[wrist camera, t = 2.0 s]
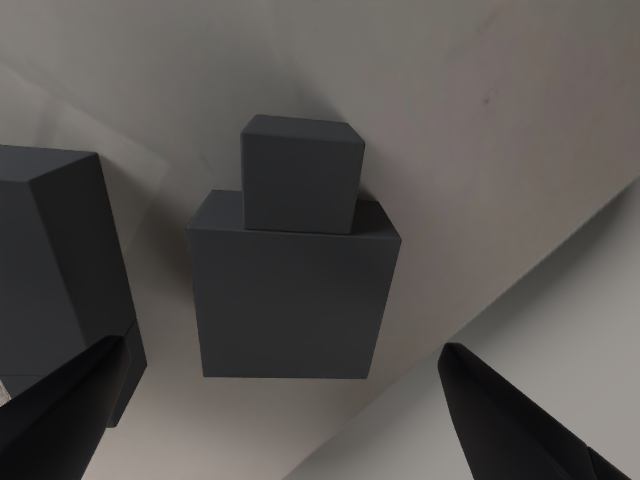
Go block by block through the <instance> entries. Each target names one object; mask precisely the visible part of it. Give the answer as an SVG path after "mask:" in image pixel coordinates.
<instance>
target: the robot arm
mask: <svg viewBox="0 0 640 480" xmlns="http://www.w3.org/2000/svg"><path fill="white" fill-rule="evenodd" d="M130 364H131V354H130V350H129V346H128V343H127V339H126V337H125V336H123V335H107V336H105V337H104V338H102V339H101V340H99V341H98V342H96V343H95V344H93V345H92V346H90V347H89V348H87V349H86V350H84V351H83V352H81V353H80V354H78V355H77V356H75V357H74V358H72V359H71V360H69V361H68V362H66V363H65V364H63V365H62V366H60V367H59V368H58V369H56V370H55V371H53V372H52V373H50V374H49V375H47V376H46V377H44V378H43V379H41V380H40V381H38V382H37V383H35V384H34V385H32V386H31V387H29V388H28V389H26V390H25V391H23V392H22V393H20V394H19V395H17V396H16V397H14V398H13V399H12V400H10V401H9V402H7V403H6V404H4V405H3V406H1V407H0V480H81V478H82V476H83V474H84V472H85V470H86V468H87V466H88V464H89V462H90V460H91V458H92V456H93V454H94V452H95V450H96V448H97V446H98V444H99V442H100V440H101V438H102V436H103V434H104V431H105V429H106V427H107V425H108V423H109V420H110V418H111V415H112V413H113V410H114V407H115V405H116V402H117V399H118V397H119V394H120V391H121V389H122V386H123V383H124V381H125V378H126V375H127V372H128V370H129V367H130ZM438 371H439V375H440V378H441V382H442V386H443V389H444V393H445V397H446V401H447V404H448V408H449V412H450V415H451V419H452V422H453V425H454V428H455V430H456V433H457V436H458V438H459V441H460V444H461V446H462V449H463V452H464V454H465V457H466V459H467V462H468V465H469V467H470V470H471V473H472V475H473V478H474V480H631V479H630V478H628V477H627V476H626V475H625V474H624V473H622V472H621V471H619V470H618V469H617V468H616V467H615V466H613V465H612V464H611V463H609V462H608V461H607V460H606V459H604V458H603V457H602V456H601V455H599V454H598V453H597V452H596V451H594V450H593V449H592V448H591V447H589V446H587V445H586V444H585V443H584V442H583V441H582V440H581V439H579V438H578V437H577V436H575V435H574V434H573V433H572V432H571V431H569V430H568V429H567V428H566V427H564V426H563V425H562V424H561V423H559V422H558V421H557V420H556V419H554V418H553V417H552V416H551V415H549V414H548V413H547V412H546V411H545V410H543V409H542V408H541V407H540V406H538V405H537V404H536V403H535V402H533V401H532V400H531V399H530V398H528V397H527V396H526V395H525V394H523V393H522V392H521V391H520V390H518V389H517V388H516V387H515V386H513V385H512V384H511V383H510V382H508V381H507V380H506V379H505V378H503V377H502V376H501V375H500V374H498V373H497V372H496V371H495V370H493V369H492V368H491V367H490V366H488V365H487V364H486V363H485V362H483V361H482V360H481V359H480V358H479V357H477V356H476V355H475V354H474V353H472V352H471V351H470V350H468V349H467V348H466V347H465V346H464V345H462V344H460V343H450V342H448V343H446V344H445V345H444V347H443V350H442V352H441V355H440V357H439V360H438Z"/></svg>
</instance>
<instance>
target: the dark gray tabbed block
mask: <svg viewBox="0 0 640 480" xmlns="http://www.w3.org/2000/svg"><path fill="white" fill-rule="evenodd" d="M364 149H365V141H364V140H363V139H362V138H361V137H360V136H359V135H358V134H357V133H356V132H355V131H354V130H353V128H352V127H351V126H350V125H349V124H348V123H343V122H332V121H321V120H311V119H300V118H289V117H279V116H268V115H256V116H255V117H254V118H253V119H252V120H251V121H250V122H249V123H248V124H247V125H246V127H245V128H244V129H243V130H242V131H241V171H242V192H237V191H222V190H212V191H211V193H210V194H209V195H208V197H207V198H206V200H205V201H204V202H203V204H202V205H201V207H200V208H199V209H198V211H197V212H196V214H195V215H194V217H193V218H192V219H191V221H190V222H189V224H188V225H187V226H186V233H187V241H188V250H189V258H190V267H191V275H192V284H193V292H194V301H195V309H196V318H197V326H198V335H199V343H200V352H201V360H202V369H203V376H204V377H241V378H335V379H367V377H368V373H369V369H370V365H371V361H372V357H373V353H374V349H375V345H376V341H377V337H378V333H379V329H380V325H381V321H382V317H383V313H384V309H385V305H386V301H387V297H388V293H389V289H390V285H391V281H392V277H393V273H394V269H395V265H396V261H397V257H398V253H399V249H400V245H401V241H402V239H401V237H400V236H399V234H398V232H397V231H396V229H395V227H394V226H393V224H392V223H391V221H390V219H389V218H388V216H387V214H386V213H385V211H384V209H383V208H382V206H381V205H380V203H379V202H378V201H367V200H356V199H357V192H358V186H359V180H360V174H361V167H362V161H363V155H364Z"/></svg>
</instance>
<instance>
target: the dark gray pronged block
mask: <svg viewBox="0 0 640 480" xmlns="http://www.w3.org/2000/svg"><path fill="white" fill-rule="evenodd" d="M107 335H123V336H125V337H126V339H127V343H128V346H129V350H130V354H131V364H130V367H129V370H128V372H127V375H126V378H125V381H124V383H123V386H122V389H121V391H120V394H119V397H118V399H117V402H116V405H115V407H114V410H113V413H112V415H111V418H110V420H109V423H108V425H107V427H106V428H114V427H116V426H117V424H118V422H119V420H120V418H121V416H122V414H123V412H124V410H125V408H126V406H127V405H128V403H129V401H130V399H131V397H132V395H133V393H134V391H135V389H136V387H137V385H138V383H139V381H140V379H141V377H142V375H143V373H144V371H145V369H146V367H147V361H146V357H145V352H144V348H143V344H142V340H141V335H140V331H139V327H138V323H137V319H136V313H135V309H134V304H133V300H132V296H131V292H130V287H129V283H128V279H127V275H126V270H125V266H124V262H123V258H122V253H121V249H120V245H119V241H118V236H117V232H116V228H115V224H114V219H113V215H112V211H111V207H110V202H109V198H108V194H107V190H106V185H105V181H104V177H103V172H102V168H101V164H100V160H99V155H98V153H96V152H85V151H73V150H60V149H47V148H34V147H21V146H8V145H0V379H1V381H2V383H3V385H4V386H5V388H6V390H7V392H8V393H9V395H10V397H11V399H13V398H14V397H16V396H17V395H19V394H20V393H22V392H23V391H25V390H26V389H28V388H29V387H31V386H32V385H34V384H35V383H37V382H38V381H40V380H41V379H43V378H44V377H46V376H47V375H49V374H50V373H52V372H53V371H55V370H56V369H58V368H59V367H60V366H62V365H63V364H65V363H66V362H68V361H69V360H71V359H72V358H74V357H75V356H77V355H78V354H80V353H81V352H83V351H84V350H86V349H87V348H89V347H90V346H92V345H93V344H95V343H96V342H98V341H99V340H101V339H102V338H104V337H105V336H107Z"/></svg>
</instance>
